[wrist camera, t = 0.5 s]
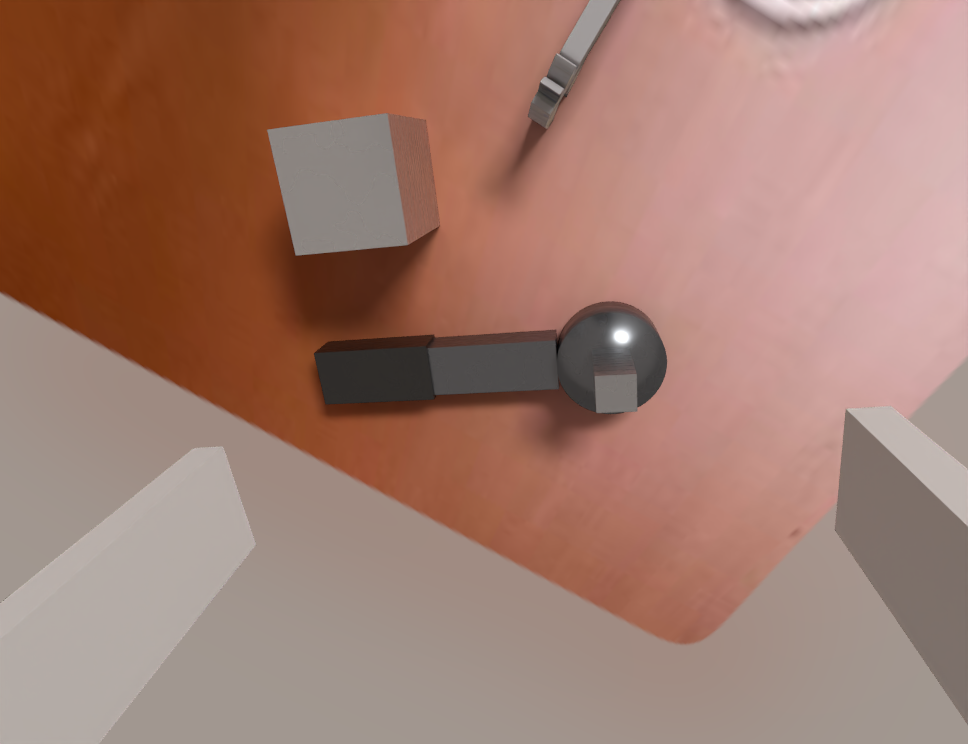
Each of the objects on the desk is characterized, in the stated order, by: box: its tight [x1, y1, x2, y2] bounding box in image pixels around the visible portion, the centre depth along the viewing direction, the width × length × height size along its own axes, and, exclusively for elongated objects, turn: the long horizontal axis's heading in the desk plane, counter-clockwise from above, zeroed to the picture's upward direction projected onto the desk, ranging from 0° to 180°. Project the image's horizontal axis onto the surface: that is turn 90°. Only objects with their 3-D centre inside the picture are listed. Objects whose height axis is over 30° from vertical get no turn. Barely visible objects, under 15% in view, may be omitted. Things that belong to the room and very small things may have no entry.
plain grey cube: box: [267, 113, 440, 256], centre depth 29 cm, size 6×6×7 cm
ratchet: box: [314, 302, 667, 414], centre depth 32 cm, size 6×20×6 cm, turn 96°
